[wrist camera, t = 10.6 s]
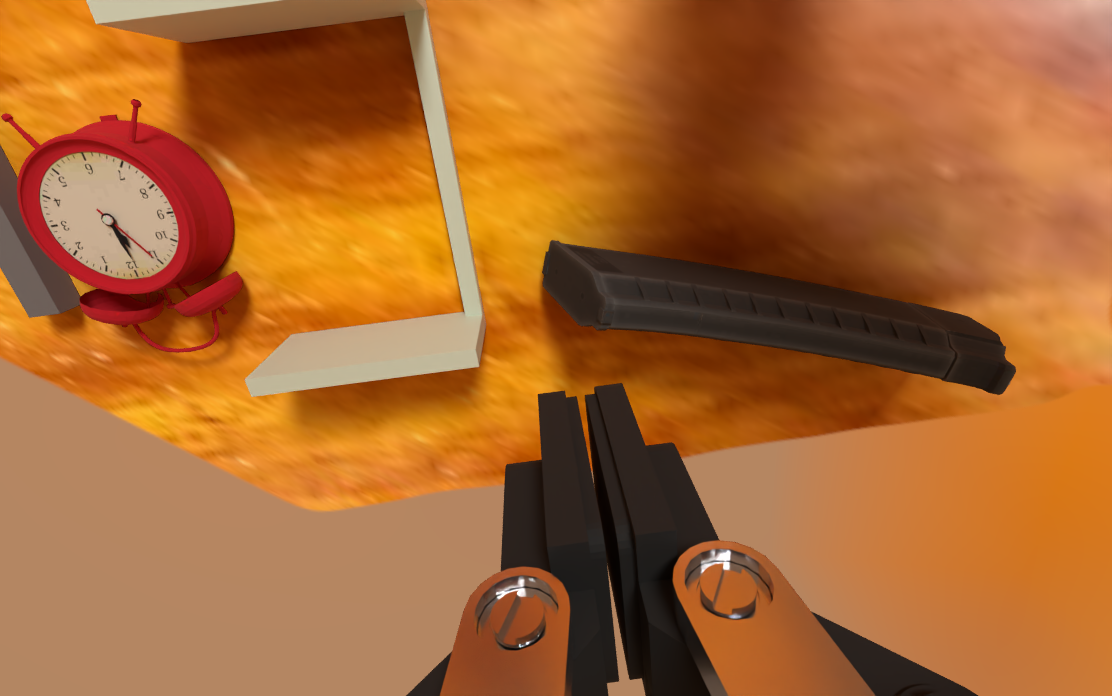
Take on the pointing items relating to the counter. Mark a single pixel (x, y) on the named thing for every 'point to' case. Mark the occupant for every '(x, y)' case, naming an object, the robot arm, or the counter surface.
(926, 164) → the counter surface
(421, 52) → the shelf bay
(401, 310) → the counter surface
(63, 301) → the rail
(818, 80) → the counter surface
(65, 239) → the alarm clock
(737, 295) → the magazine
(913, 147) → the counter surface
